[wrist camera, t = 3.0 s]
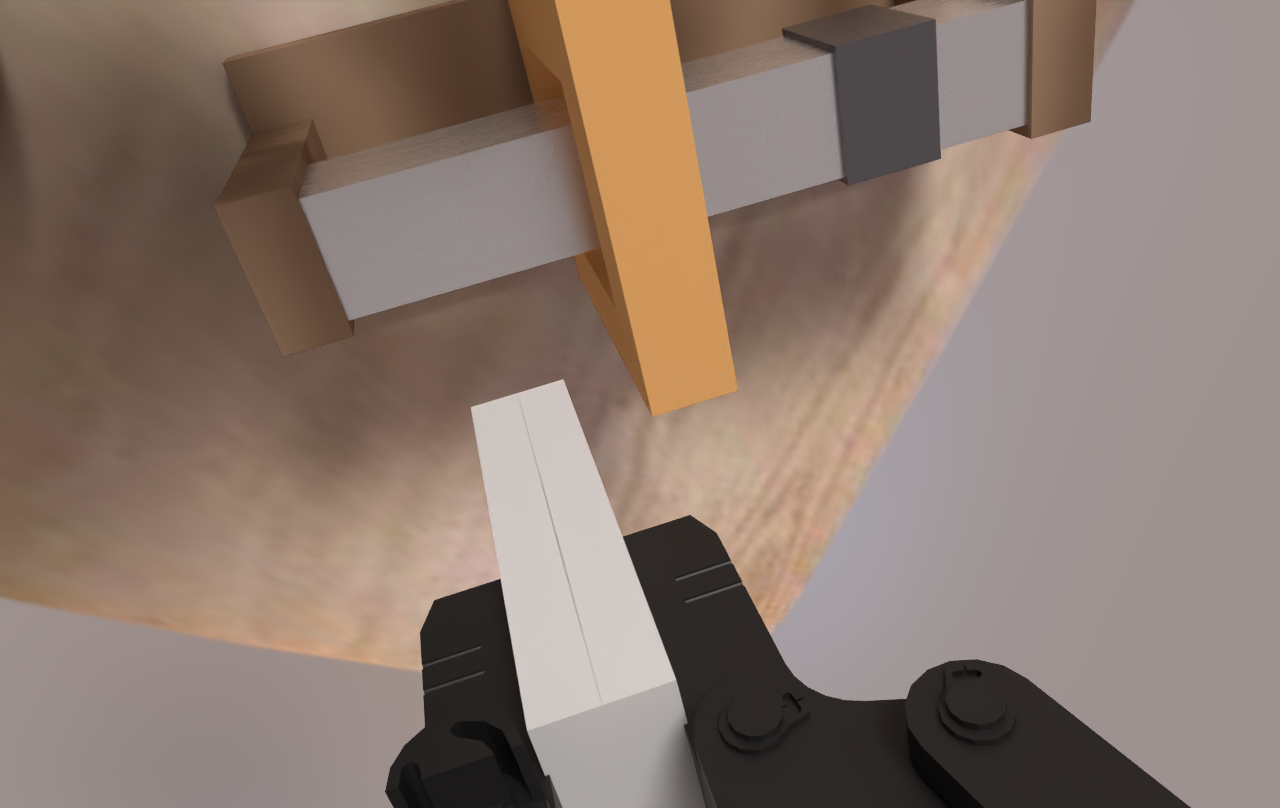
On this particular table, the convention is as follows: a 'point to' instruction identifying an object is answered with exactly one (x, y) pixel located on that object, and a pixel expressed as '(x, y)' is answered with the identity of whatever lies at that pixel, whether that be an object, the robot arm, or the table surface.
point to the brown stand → (486, 113)
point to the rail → (723, 134)
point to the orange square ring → (636, 188)
